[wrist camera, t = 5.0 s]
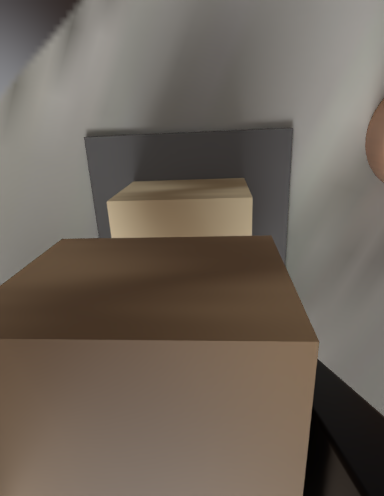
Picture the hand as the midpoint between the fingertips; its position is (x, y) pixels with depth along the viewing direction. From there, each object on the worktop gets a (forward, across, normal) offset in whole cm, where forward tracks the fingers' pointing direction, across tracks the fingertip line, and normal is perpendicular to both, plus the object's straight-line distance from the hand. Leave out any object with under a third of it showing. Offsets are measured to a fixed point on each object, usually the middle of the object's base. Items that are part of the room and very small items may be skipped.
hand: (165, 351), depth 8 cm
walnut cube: (+1, 0, 0) cm, 1 cm away
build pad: (+9, 0, 0) cm, 9 cm away
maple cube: (+9, 0, 0) cm, 9 cm away
